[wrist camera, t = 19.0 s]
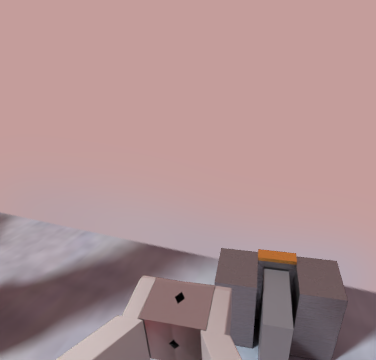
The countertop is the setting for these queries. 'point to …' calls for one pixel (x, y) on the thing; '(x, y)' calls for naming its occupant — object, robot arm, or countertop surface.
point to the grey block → (275, 316)
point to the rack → (300, 298)
